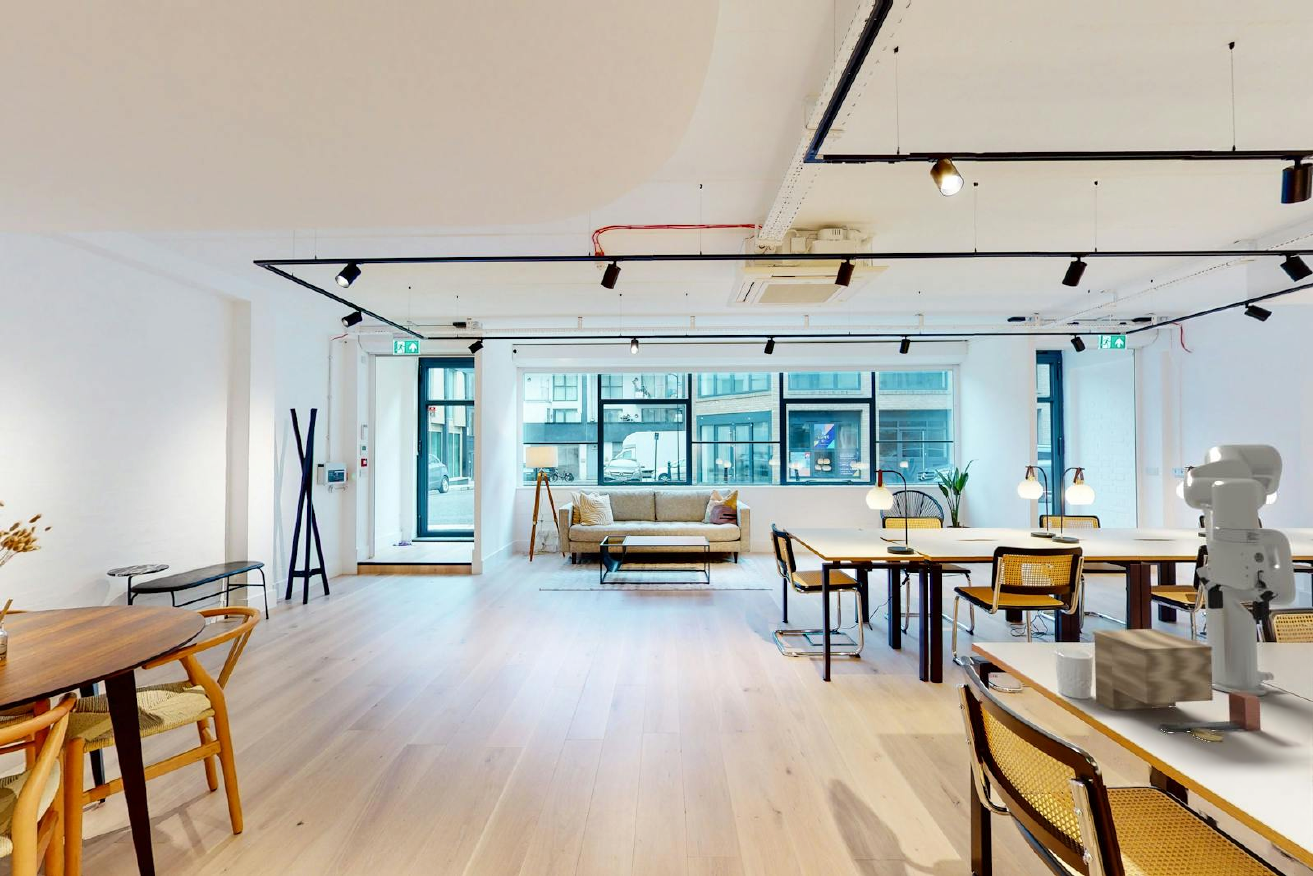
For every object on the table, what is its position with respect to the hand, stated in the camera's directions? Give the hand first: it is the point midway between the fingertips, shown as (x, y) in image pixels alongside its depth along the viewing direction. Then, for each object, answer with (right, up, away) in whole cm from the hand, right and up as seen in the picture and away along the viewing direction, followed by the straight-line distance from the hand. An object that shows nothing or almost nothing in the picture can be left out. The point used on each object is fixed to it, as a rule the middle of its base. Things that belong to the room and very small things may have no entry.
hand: (1237, 614), depth 138 cm
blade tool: (-9, -24, -3) cm, 26 cm away
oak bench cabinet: (-14, -25, +7) cm, 29 cm away
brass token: (-12, -25, -6) cm, 28 cm away
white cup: (-24, -25, +18) cm, 39 cm away
